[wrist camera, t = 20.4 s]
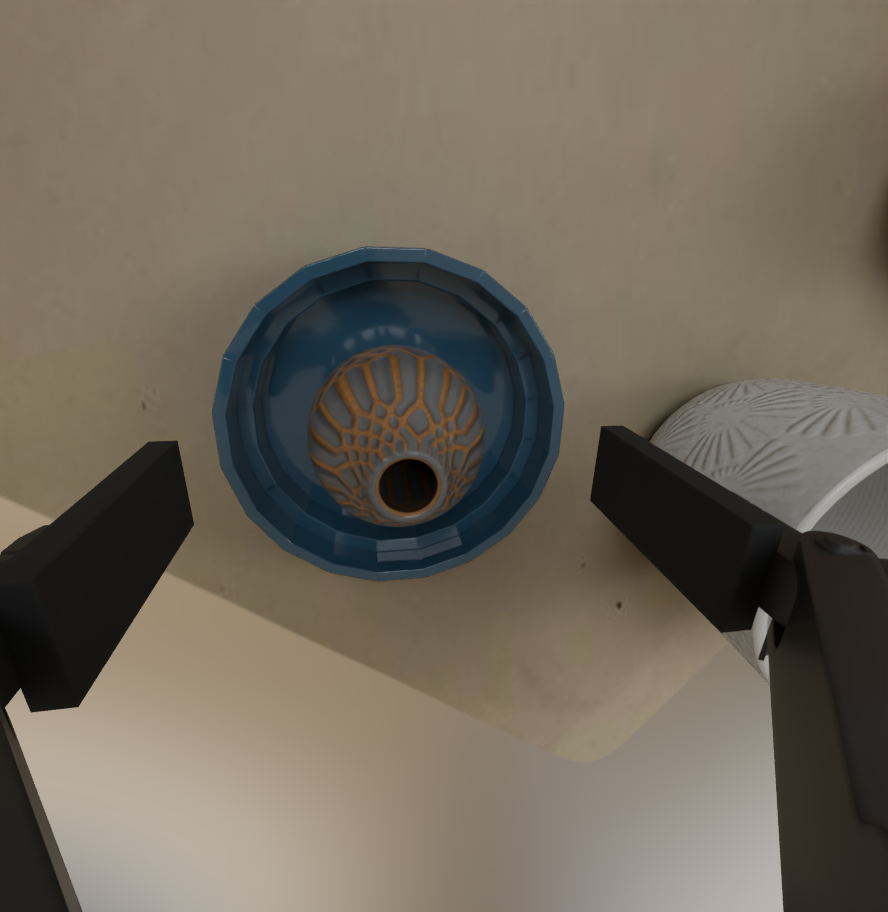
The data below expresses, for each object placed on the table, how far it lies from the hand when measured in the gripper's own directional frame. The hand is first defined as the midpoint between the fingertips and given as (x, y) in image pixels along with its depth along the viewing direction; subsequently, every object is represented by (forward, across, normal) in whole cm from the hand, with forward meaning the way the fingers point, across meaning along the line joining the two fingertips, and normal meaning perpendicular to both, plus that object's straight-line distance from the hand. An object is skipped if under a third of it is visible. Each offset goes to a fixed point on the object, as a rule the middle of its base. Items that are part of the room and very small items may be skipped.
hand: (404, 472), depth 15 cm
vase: (+8, 0, 0) cm, 8 cm away
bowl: (+8, 0, 0) cm, 9 cm away
